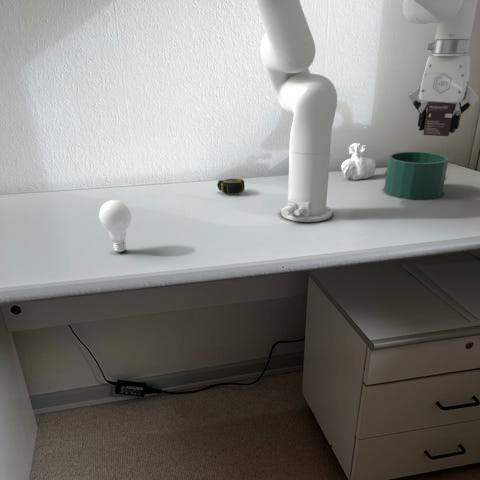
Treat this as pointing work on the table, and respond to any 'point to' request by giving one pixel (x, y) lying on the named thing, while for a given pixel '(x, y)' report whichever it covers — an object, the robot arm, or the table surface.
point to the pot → (415, 175)
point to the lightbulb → (116, 222)
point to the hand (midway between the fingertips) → (437, 130)
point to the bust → (358, 164)
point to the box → (438, 119)
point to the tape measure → (231, 186)
